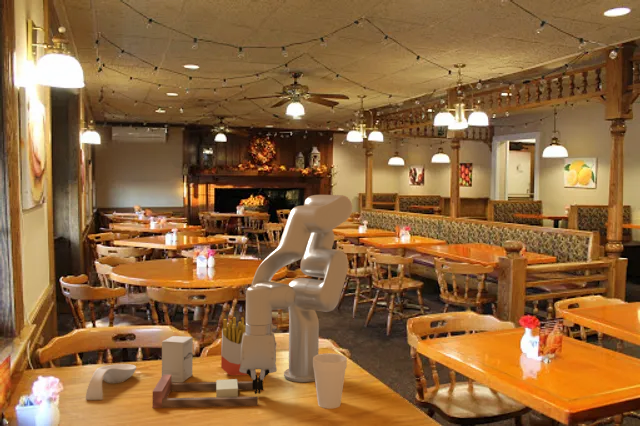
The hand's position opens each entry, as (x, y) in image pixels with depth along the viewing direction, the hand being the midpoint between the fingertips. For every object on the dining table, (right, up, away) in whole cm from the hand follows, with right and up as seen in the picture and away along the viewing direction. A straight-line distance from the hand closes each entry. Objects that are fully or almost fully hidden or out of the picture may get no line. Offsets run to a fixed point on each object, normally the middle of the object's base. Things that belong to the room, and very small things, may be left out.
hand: (257, 392), depth 159 cm
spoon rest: (-46, -1, +8) cm, 46 cm away
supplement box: (-27, -1, +15) cm, 31 cm away
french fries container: (-9, -1, +21) cm, 22 cm away
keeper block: (-9, -2, 0) cm, 9 cm away
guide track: (-14, -1, -1) cm, 14 cm away
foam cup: (+21, -2, -5) cm, 21 cm away
